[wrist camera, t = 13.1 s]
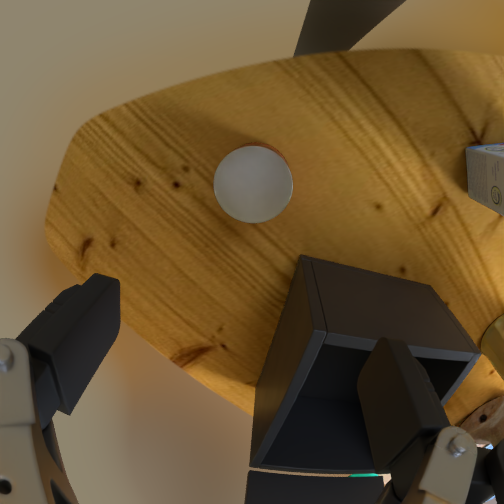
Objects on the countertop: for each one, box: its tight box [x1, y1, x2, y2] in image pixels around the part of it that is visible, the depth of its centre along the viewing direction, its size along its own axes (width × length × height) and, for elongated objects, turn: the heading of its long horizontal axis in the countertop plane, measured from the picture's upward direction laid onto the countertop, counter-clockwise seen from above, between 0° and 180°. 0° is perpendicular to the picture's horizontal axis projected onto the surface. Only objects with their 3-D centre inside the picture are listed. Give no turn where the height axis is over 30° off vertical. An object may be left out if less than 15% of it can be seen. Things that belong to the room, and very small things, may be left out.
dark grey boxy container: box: [249, 255, 482, 474], centre depth 23 cm, size 16×13×10 cm
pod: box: [214, 142, 293, 223], centre depth 21 cm, size 5×5×4 cm
